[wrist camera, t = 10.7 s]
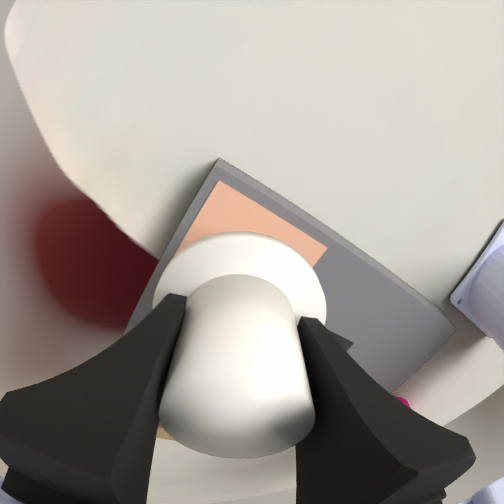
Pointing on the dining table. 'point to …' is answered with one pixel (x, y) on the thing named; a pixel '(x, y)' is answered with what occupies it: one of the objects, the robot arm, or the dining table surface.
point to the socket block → (319, 276)
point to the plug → (239, 345)
